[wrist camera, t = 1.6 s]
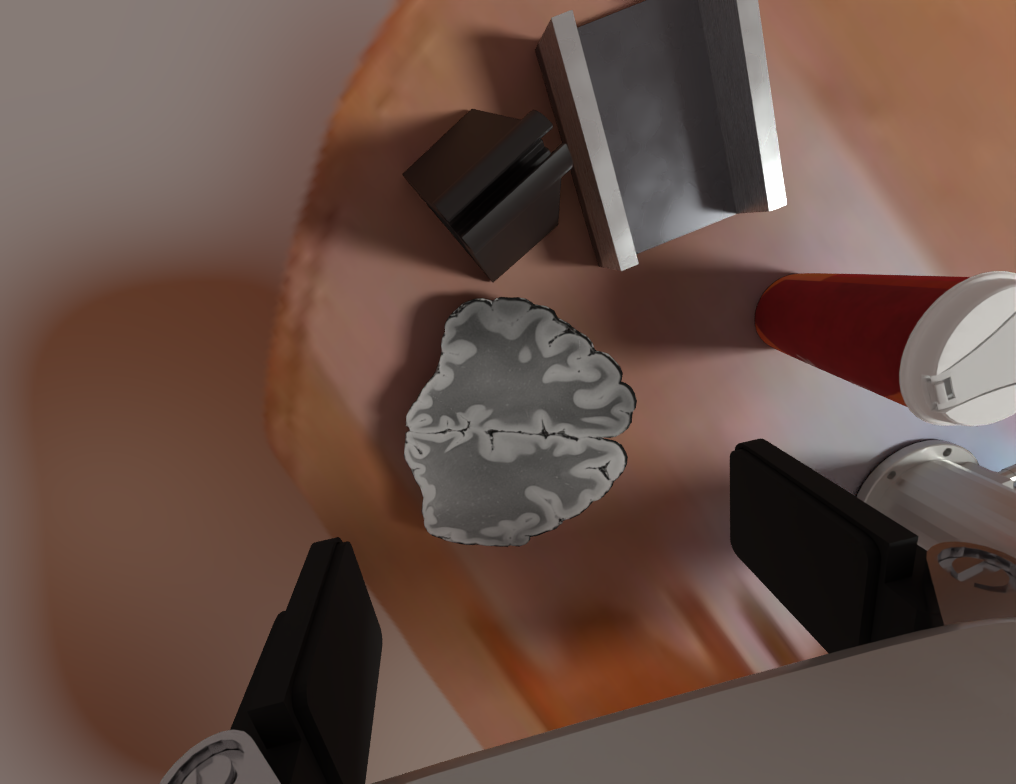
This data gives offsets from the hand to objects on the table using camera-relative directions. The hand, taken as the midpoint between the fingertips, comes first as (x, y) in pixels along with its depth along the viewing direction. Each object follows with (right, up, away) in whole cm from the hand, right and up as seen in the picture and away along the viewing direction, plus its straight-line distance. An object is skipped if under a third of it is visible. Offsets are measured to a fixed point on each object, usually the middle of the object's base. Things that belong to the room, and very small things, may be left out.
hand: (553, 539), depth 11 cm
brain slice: (0, +1, +26) cm, 26 cm away
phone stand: (-3, +16, +21) cm, 26 cm away
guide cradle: (+8, +21, +20) cm, 30 cm away
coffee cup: (+21, +10, +26) cm, 35 cm away
